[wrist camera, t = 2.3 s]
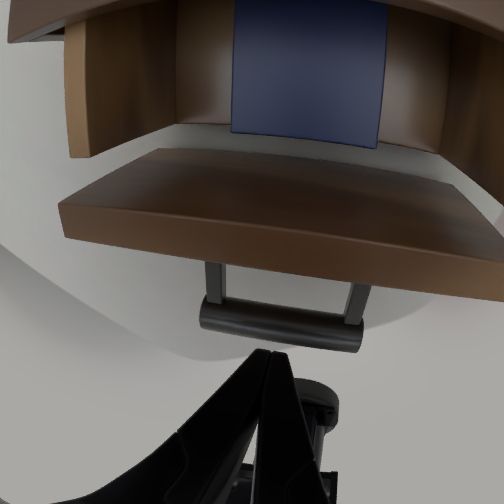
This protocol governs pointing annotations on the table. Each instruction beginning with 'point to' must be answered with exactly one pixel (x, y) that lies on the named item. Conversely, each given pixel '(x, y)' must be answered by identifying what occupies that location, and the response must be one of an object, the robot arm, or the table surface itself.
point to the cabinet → (96, 3)
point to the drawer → (287, 168)
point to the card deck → (309, 69)
